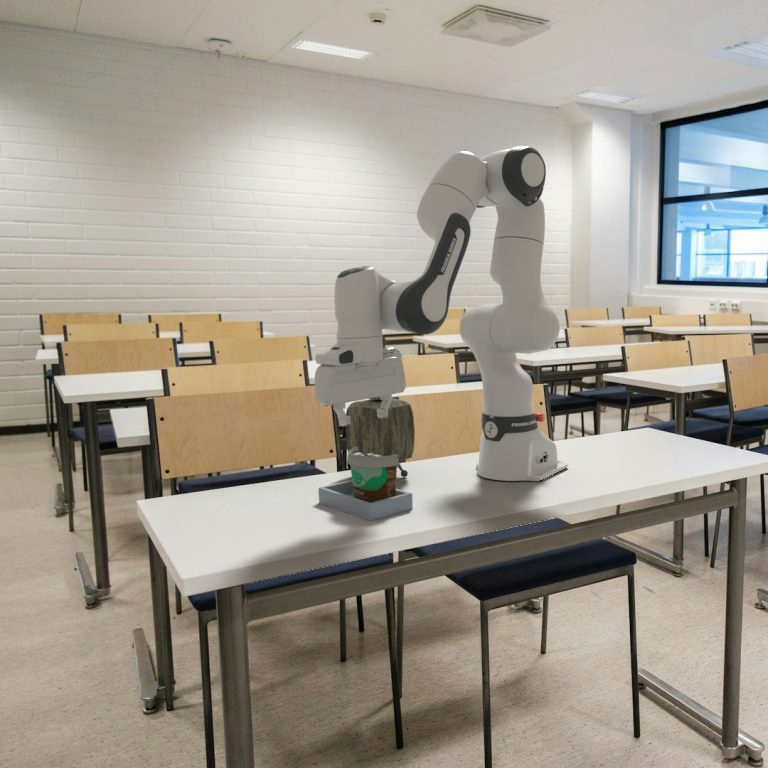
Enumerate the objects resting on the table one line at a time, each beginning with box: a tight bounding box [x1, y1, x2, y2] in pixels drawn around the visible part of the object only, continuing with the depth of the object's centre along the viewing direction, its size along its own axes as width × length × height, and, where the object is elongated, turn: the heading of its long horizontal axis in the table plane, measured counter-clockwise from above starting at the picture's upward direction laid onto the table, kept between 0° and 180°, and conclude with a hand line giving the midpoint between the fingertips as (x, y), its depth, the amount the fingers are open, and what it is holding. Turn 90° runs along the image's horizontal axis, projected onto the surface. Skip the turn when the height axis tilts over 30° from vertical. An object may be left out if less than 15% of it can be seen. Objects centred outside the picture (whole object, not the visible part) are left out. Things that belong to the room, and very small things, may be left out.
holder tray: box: [318, 479, 414, 522], centre depth 138 cm, size 11×17×3 cm, turn 40°
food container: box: [346, 447, 400, 503], centre depth 138 cm, size 12×6×10 cm, turn 45°
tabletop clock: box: [345, 397, 416, 478], centre depth 160 cm, size 14×9×25 cm, turn 45°
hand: (364, 421), depth 137 cm, fingers open, 8 cm apart
